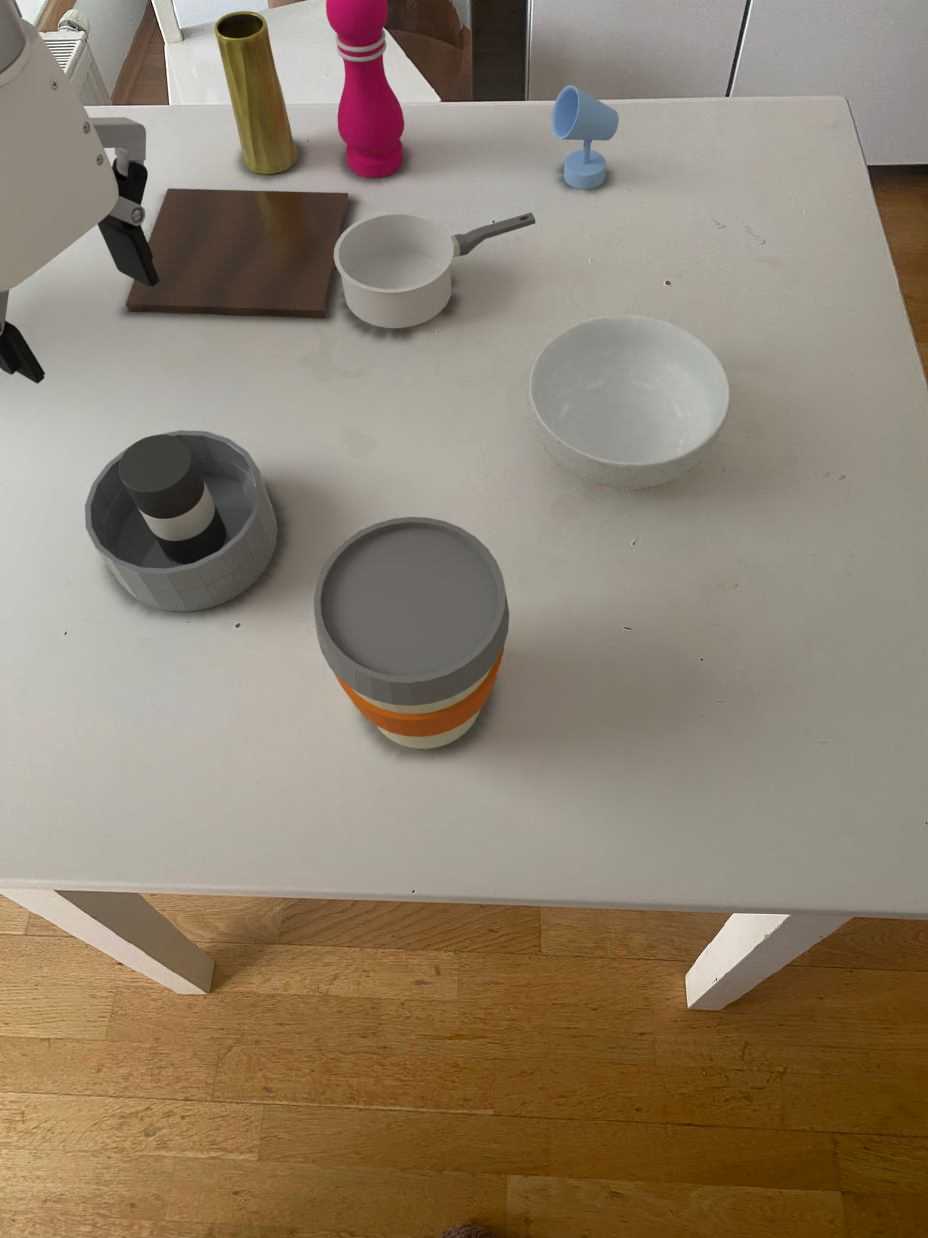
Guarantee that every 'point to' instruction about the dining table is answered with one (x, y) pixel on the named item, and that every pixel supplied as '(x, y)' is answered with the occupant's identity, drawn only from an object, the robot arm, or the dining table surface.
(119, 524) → the grey pet bowl
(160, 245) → the board
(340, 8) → the pepper mill
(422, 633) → the reusable coffee cup
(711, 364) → the cereal bowl
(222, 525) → the dark grey banded canister
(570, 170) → the spotlight
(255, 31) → the vase
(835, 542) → the dining table surface
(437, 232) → the saucepan
